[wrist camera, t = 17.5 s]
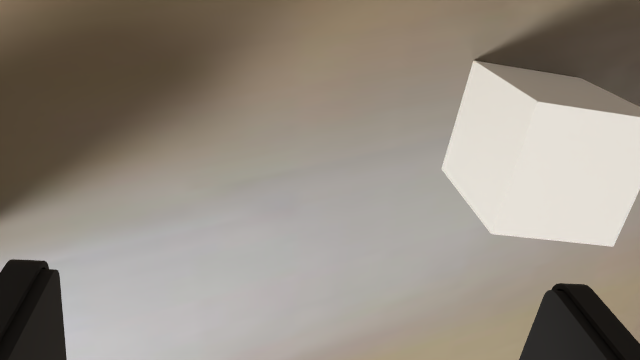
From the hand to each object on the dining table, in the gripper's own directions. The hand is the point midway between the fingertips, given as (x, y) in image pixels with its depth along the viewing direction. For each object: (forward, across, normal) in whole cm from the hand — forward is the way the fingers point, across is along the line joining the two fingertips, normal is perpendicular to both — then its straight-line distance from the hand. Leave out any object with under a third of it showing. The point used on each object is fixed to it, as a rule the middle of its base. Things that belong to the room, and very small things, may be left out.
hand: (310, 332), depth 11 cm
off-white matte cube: (+26, -17, +4) cm, 31 cm away
